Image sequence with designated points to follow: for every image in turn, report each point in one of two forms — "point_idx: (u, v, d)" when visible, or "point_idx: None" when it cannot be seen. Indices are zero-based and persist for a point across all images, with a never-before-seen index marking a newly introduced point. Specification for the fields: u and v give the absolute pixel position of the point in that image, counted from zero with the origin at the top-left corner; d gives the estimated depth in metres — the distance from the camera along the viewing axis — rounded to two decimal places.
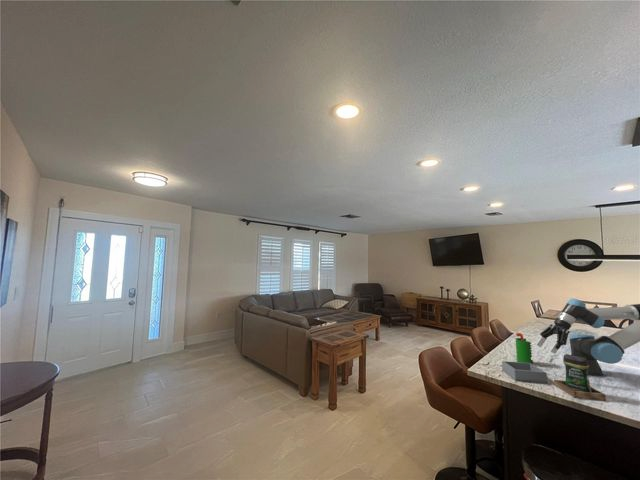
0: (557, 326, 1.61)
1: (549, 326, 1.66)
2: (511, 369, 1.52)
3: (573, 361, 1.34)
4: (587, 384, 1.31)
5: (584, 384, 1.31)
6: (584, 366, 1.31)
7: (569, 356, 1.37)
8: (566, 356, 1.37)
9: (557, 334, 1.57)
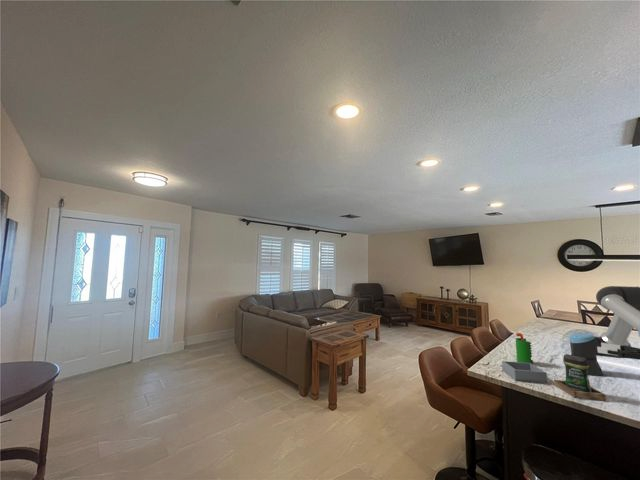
0: None
1: None
2: (511, 369, 1.52)
3: (573, 361, 1.34)
4: (587, 384, 1.31)
5: (584, 384, 1.31)
6: (584, 366, 1.31)
7: (569, 356, 1.37)
8: (566, 356, 1.37)
9: None
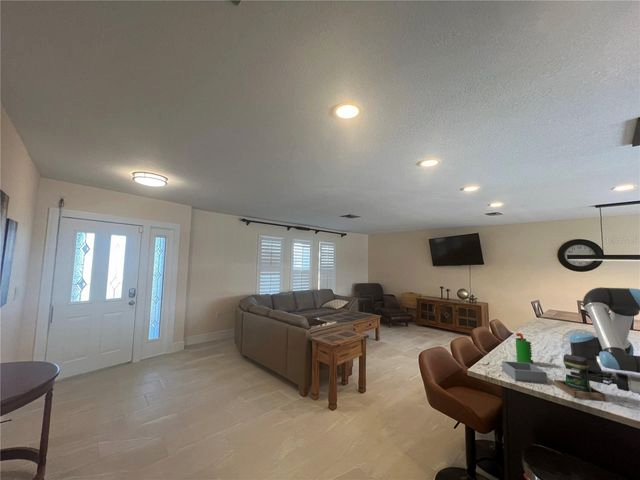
0: None
1: (604, 383, 1.23)
2: (511, 369, 1.52)
3: (573, 361, 1.34)
4: (587, 384, 1.31)
5: (584, 384, 1.31)
6: (584, 366, 1.31)
7: (569, 356, 1.37)
8: (566, 356, 1.37)
9: None
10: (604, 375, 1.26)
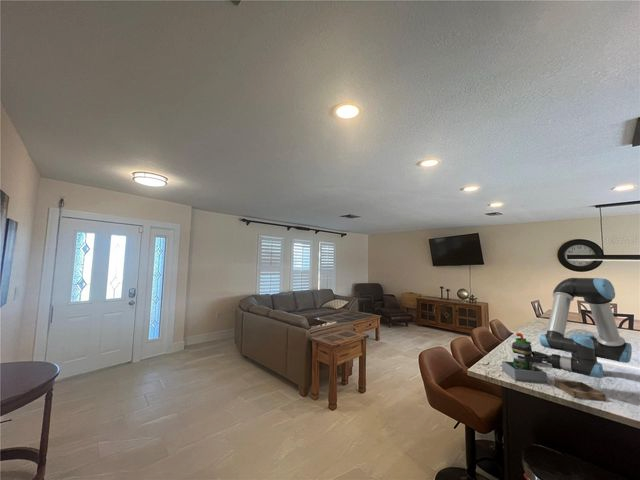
0: None
1: (543, 363, 1.43)
2: (511, 369, 1.52)
3: (518, 348, 1.54)
4: (529, 367, 1.51)
5: (526, 368, 1.51)
6: (527, 352, 1.51)
7: (516, 343, 1.57)
8: (514, 343, 1.57)
9: None
10: (543, 356, 1.46)
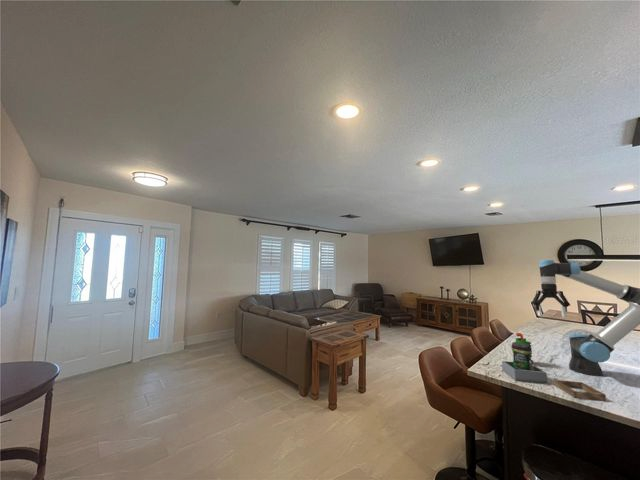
0: None
1: None
2: (511, 369, 1.52)
3: (518, 348, 1.54)
4: (529, 367, 1.51)
5: (526, 367, 1.51)
6: (527, 351, 1.52)
7: (516, 343, 1.57)
8: (514, 343, 1.58)
9: None
10: (556, 294, 1.66)
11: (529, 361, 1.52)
